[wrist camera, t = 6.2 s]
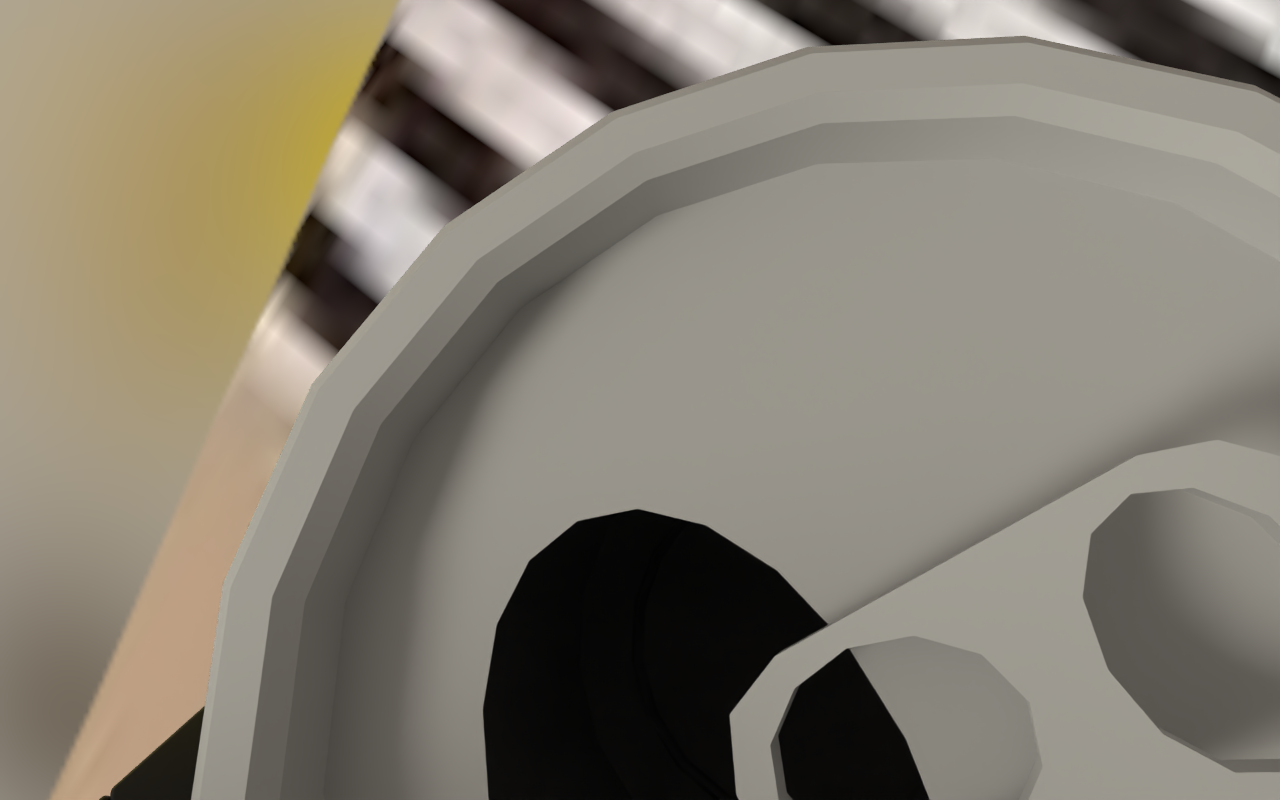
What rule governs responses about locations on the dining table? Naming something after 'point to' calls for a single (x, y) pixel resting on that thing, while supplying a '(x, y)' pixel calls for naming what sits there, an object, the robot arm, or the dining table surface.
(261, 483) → the dining table surface
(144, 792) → the robot arm
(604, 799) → the can
